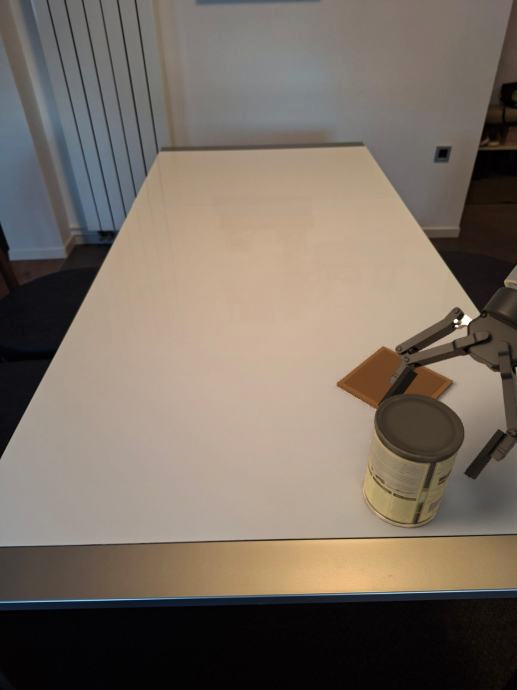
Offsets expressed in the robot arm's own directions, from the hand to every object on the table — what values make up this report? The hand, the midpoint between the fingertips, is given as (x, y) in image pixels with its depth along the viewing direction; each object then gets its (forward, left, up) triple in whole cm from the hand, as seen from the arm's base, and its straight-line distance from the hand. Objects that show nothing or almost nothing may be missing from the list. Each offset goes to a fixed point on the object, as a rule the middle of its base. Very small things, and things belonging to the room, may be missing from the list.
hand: (423, 440), depth 62 cm
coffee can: (0, +2, -10) cm, 10 cm away
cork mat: (+18, -11, -9) cm, 23 cm away
